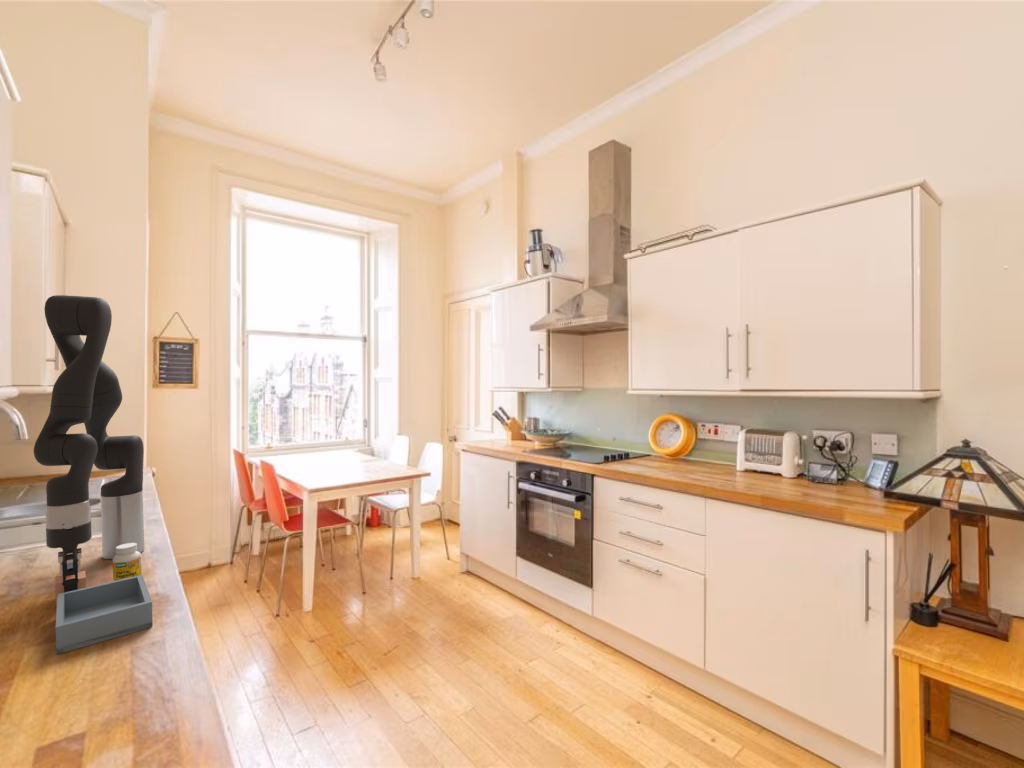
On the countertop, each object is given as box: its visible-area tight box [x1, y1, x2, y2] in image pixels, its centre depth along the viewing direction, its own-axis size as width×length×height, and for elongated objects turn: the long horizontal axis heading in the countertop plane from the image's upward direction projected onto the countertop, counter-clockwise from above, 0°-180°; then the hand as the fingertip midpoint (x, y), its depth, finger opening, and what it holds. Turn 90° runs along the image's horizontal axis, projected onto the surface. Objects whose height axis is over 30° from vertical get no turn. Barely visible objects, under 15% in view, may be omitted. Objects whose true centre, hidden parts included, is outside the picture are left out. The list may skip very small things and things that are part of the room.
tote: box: [55, 574, 153, 656], centre depth 98 cm, size 18×14×5 cm
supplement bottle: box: [112, 543, 143, 581], centre depth 116 cm, size 5×5×10 cm
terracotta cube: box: [54, 570, 87, 607], centre depth 109 cm, size 5×5×5 cm
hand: (71, 596), depth 109 cm, fingers open, 5 cm apart
